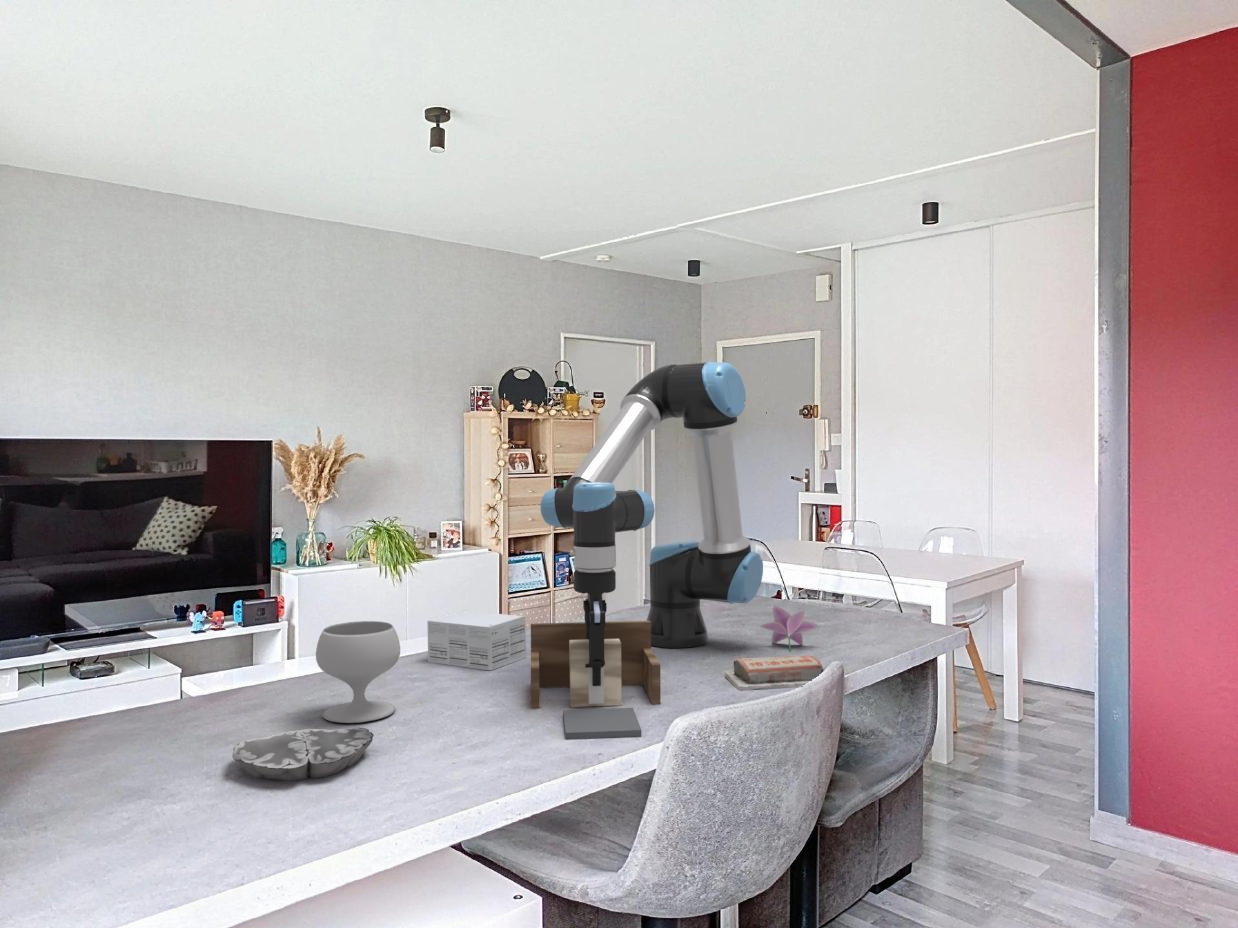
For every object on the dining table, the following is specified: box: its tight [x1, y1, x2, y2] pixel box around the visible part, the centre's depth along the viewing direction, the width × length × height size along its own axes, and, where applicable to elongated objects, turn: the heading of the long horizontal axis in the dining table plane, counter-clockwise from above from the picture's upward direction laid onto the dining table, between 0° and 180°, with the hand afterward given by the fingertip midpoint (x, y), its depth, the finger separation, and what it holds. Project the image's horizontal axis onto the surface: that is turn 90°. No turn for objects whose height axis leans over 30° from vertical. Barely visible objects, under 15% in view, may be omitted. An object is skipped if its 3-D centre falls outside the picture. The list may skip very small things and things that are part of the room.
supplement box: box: [427, 610, 527, 671], centre depth 192 cm, size 17×13×9 cm
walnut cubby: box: [530, 620, 662, 709], centre depth 165 cm, size 14×23×12 cm, turn 95°
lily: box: [760, 605, 821, 652], centre depth 201 cm, size 12×12×10 cm
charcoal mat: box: [562, 707, 642, 740], centre depth 147 cm, size 12×12×1 cm
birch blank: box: [569, 639, 622, 708], centre depth 159 cm, size 4×9×11 cm, turn 95°
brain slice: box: [232, 727, 374, 782], centre depth 129 cm, size 20×17×3 cm
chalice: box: [315, 620, 401, 724], centre depth 153 cm, size 14×14×15 cm
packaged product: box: [724, 655, 825, 691], centre depth 173 cm, size 18×5×10 cm
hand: (595, 698), depth 159 cm, fingers closed on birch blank, 4 cm apart
